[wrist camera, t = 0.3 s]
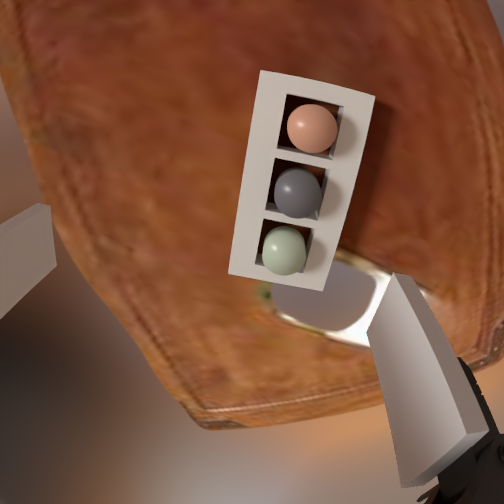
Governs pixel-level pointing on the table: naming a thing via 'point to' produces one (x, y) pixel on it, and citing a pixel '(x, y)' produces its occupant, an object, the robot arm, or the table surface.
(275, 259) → the button sage
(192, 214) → the table surface
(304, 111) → the button terracotta
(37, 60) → the table surface
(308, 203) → the button charcoal
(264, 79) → the board
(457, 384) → the robot arm
